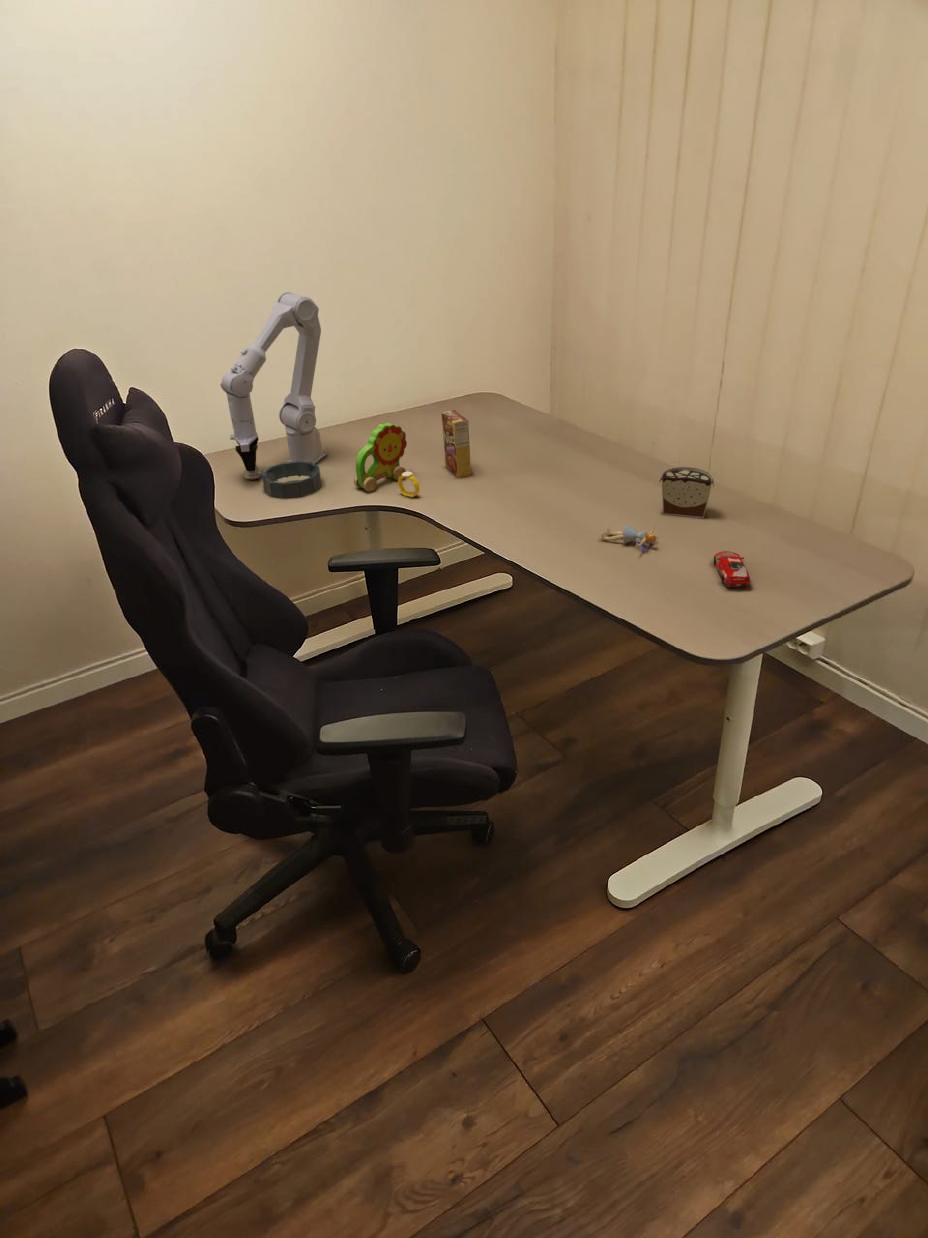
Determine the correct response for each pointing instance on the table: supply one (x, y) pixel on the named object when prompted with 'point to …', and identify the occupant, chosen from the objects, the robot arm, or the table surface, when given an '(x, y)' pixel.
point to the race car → (731, 569)
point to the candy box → (456, 443)
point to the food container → (686, 491)
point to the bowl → (292, 479)
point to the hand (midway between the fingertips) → (251, 467)
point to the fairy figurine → (630, 536)
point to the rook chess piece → (252, 473)
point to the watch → (414, 480)
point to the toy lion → (381, 456)
